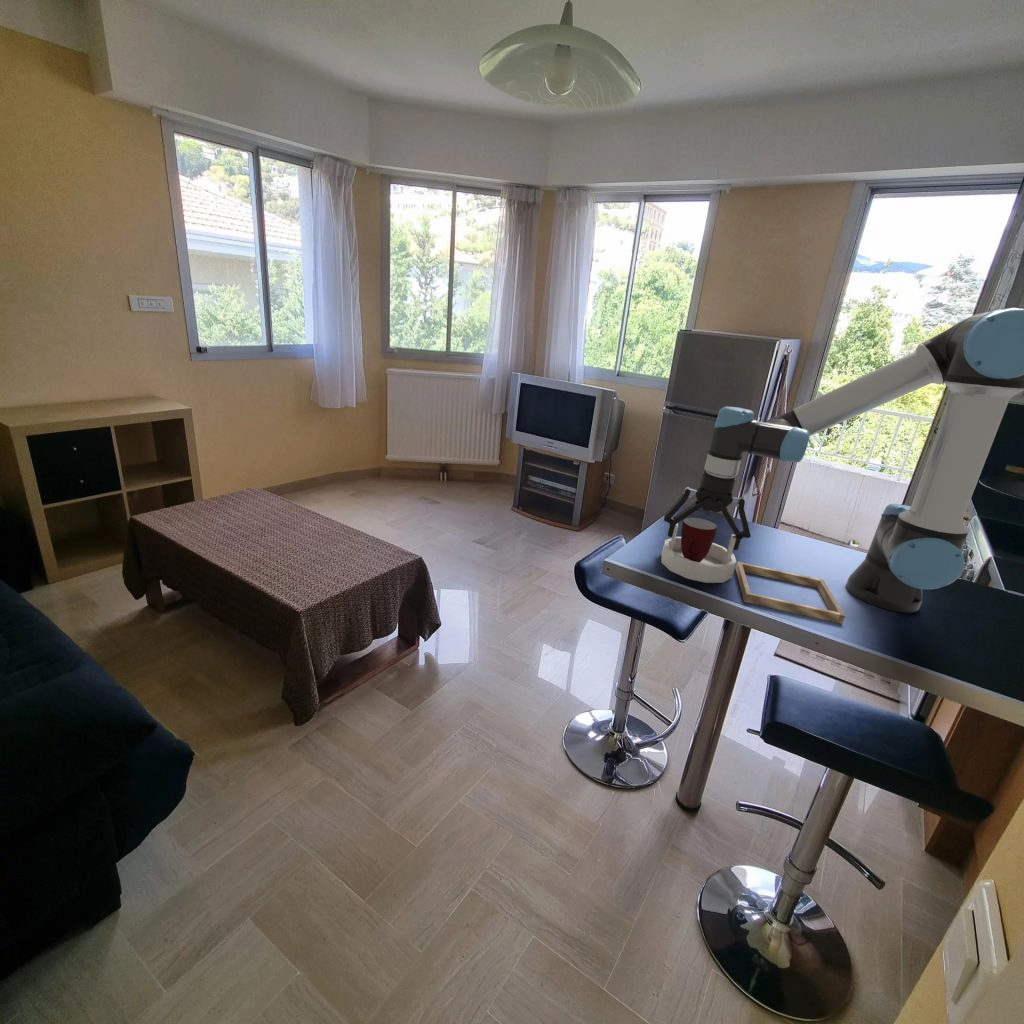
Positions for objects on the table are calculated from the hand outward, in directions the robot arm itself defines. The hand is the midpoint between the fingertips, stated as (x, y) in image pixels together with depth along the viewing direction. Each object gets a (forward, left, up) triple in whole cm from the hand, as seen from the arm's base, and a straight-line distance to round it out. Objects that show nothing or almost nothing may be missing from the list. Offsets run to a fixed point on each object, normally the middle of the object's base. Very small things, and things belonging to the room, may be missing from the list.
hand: (698, 554), depth 130 cm
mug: (+1, 0, -2) cm, 3 cm away
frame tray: (-20, +5, -3) cm, 21 cm away
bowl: (0, 0, -3) cm, 3 cm away
